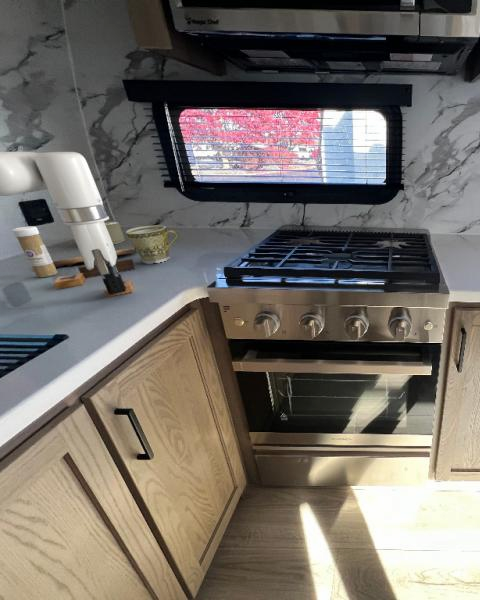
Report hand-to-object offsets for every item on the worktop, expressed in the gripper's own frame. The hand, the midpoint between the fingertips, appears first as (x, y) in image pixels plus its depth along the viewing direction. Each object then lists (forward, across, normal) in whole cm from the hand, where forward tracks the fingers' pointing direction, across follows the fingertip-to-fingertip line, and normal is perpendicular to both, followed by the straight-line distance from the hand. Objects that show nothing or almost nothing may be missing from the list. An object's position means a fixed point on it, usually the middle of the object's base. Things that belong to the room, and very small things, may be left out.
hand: (117, 291), depth 79 cm
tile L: (+1, -4, 0) cm, 4 cm away
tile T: (+1, -18, -11) cm, 21 cm away
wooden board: (+1, -41, -8) cm, 41 cm away
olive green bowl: (+1, -63, -7) cm, 63 cm away
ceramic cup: (+2, -26, +10) cm, 28 cm away
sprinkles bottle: (+1, -31, -17) cm, 35 cm away
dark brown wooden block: (+1, -23, -3) cm, 23 cm away
